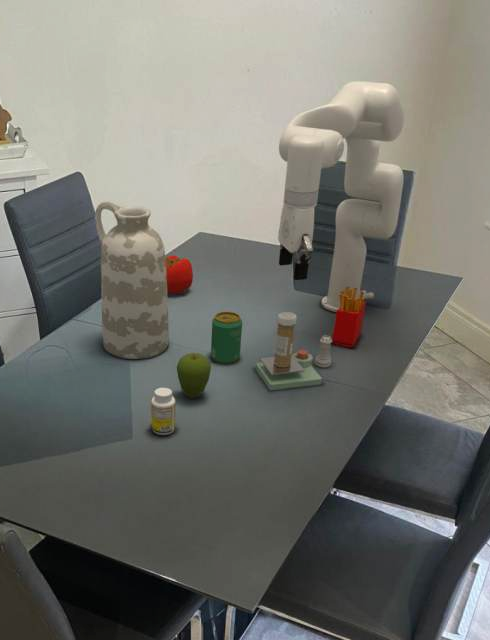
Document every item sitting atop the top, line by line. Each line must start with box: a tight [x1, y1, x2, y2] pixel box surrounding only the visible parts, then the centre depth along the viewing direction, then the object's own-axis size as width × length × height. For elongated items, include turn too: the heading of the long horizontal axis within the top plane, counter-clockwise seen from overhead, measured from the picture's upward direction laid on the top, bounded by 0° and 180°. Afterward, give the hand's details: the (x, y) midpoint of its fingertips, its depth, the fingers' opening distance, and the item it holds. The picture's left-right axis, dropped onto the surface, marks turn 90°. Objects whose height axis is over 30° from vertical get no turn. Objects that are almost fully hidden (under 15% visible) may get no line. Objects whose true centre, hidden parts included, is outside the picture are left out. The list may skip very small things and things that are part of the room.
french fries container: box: [331, 286, 367, 348], centre depth 208 cm, size 7×9×14 cm
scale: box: [254, 351, 323, 391], centre depth 194 cm, size 15×12×4 cm
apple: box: [176, 352, 212, 399], centre depth 184 cm, size 9×8×12 cm
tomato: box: [165, 254, 194, 295], centre depth 238 cm, size 14×13×10 cm
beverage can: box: [210, 311, 243, 365], centre depth 200 cm, size 8×8×12 cm
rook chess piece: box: [314, 334, 332, 369], centre depth 198 cm, size 4×4×8 cm
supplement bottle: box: [150, 387, 176, 436], centre depth 171 cm, size 6×6×10 cm
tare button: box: [297, 349, 309, 360], centre depth 196 cm, size 3×3×2 cm
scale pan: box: [259, 355, 305, 375], centre depth 192 cm, size 9×9×1 cm
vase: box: [94, 201, 170, 360], centre depth 198 cm, size 20×19×38 cm
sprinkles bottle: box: [274, 311, 297, 367], centre depth 188 cm, size 5×5×13 cm
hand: (292, 271), depth 177 cm, fingers open, 9 cm apart
